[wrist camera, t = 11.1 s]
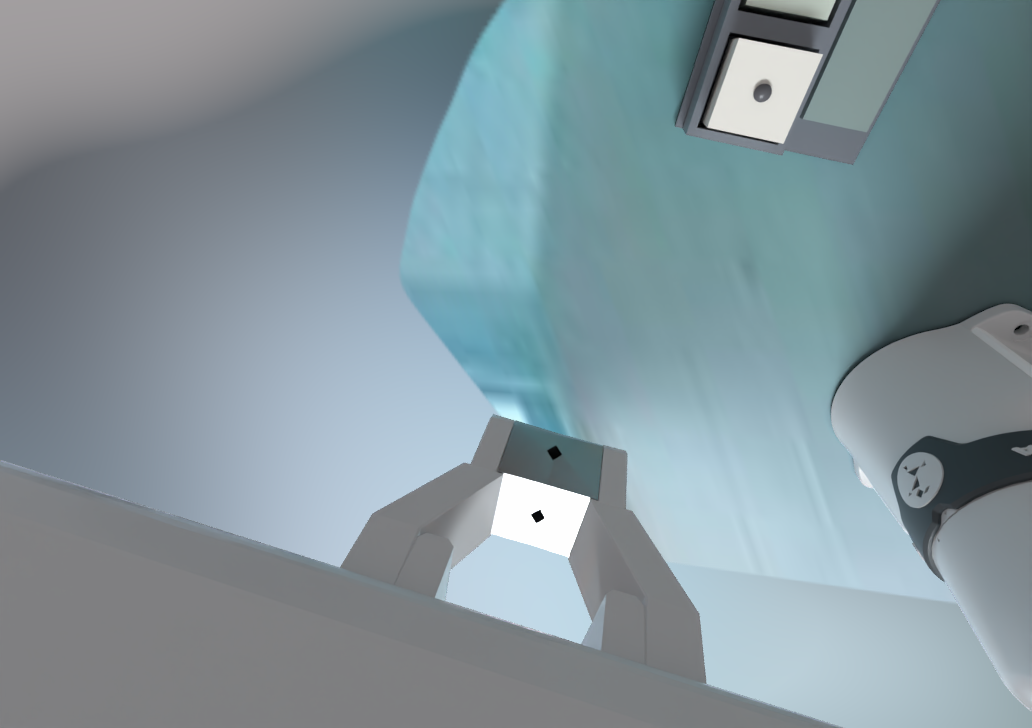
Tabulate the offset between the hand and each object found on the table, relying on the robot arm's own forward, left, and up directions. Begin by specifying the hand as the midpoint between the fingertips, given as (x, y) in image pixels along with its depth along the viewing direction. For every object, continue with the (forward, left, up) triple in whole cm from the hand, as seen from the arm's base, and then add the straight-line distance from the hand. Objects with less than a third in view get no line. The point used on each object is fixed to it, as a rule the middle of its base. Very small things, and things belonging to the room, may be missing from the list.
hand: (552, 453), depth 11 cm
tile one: (-6, -7, -29) cm, 30 cm away
